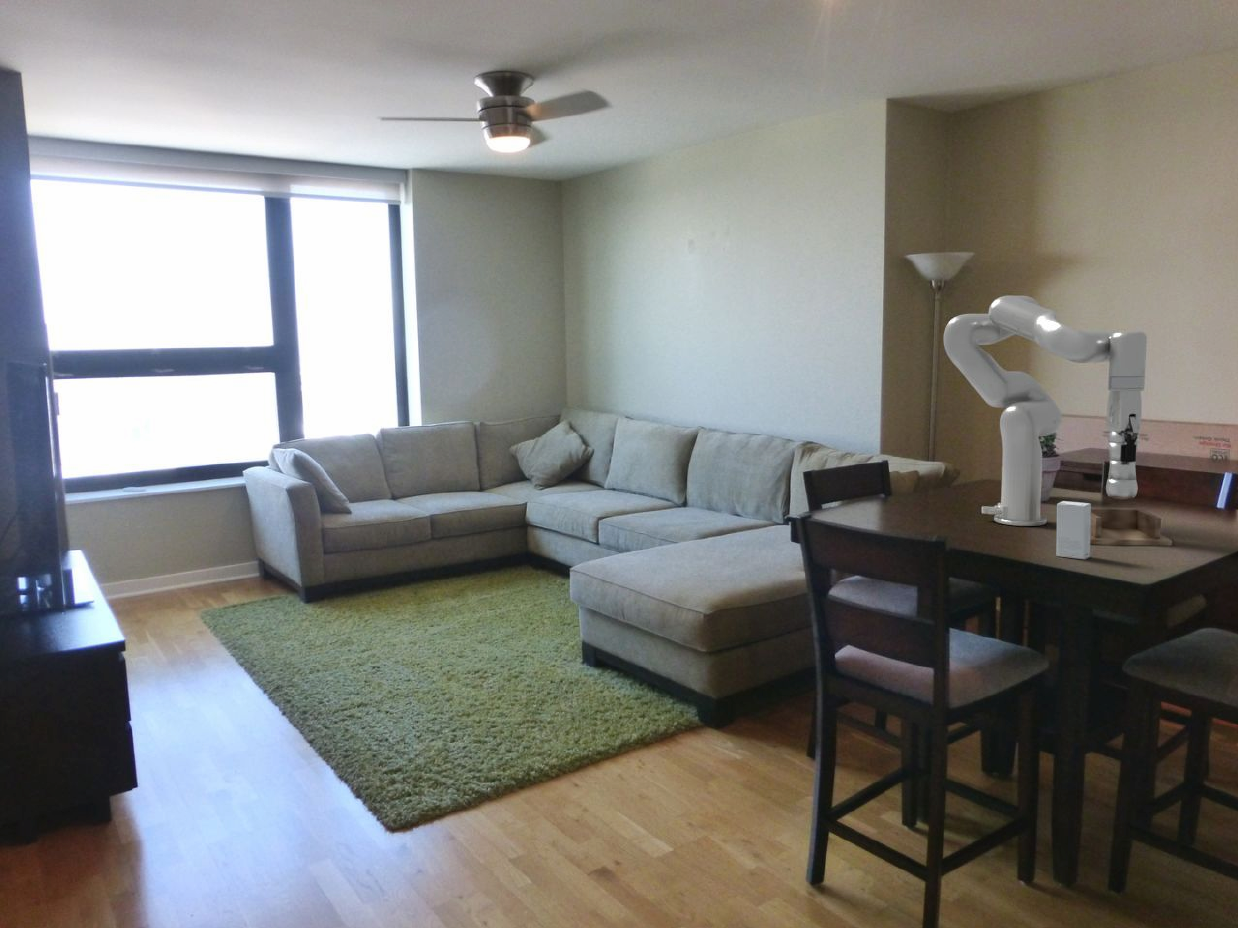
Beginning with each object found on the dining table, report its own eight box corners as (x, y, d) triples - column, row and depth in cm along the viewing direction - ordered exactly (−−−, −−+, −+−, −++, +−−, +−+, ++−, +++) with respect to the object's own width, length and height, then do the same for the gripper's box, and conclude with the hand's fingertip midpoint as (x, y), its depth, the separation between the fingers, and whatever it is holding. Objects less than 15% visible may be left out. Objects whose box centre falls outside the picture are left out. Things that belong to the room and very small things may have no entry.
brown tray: (1087, 544, 215) (1088, 519, 214) (1067, 530, 231) (1068, 506, 230) (1171, 545, 212) (1173, 520, 211) (1145, 531, 228) (1146, 507, 227)
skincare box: (1090, 556, 203) (1093, 502, 202) (1084, 560, 200) (1086, 505, 199) (1061, 552, 208) (1063, 499, 206) (1054, 556, 204) (1056, 502, 203)
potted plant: (1042, 507, 262) (1045, 420, 259) (985, 497, 279) (988, 415, 276) (1082, 500, 271) (1086, 416, 268) (1025, 492, 288) (1028, 412, 285)
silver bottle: (1141, 501, 216) (1145, 416, 213) (1109, 501, 217) (1113, 416, 215) (1131, 496, 222) (1135, 414, 219) (1101, 496, 223) (1105, 414, 221)
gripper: (1097, 382, 225) (1094, 455, 227) (1121, 386, 208) (1118, 464, 211) (1130, 382, 224) (1126, 455, 226) (1158, 385, 207) (1153, 464, 209)
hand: (1122, 459), depth 218 cm, fingers closed on silver bottle, 6 cm apart
